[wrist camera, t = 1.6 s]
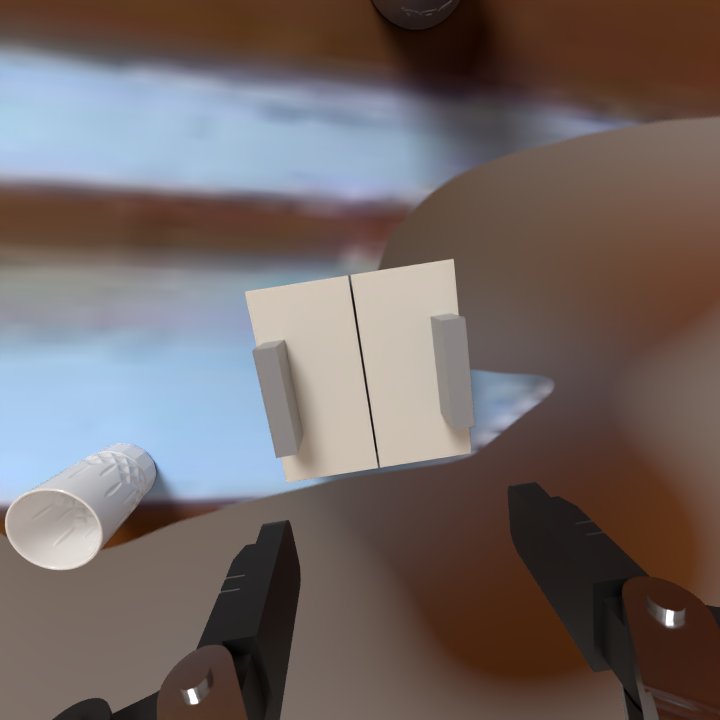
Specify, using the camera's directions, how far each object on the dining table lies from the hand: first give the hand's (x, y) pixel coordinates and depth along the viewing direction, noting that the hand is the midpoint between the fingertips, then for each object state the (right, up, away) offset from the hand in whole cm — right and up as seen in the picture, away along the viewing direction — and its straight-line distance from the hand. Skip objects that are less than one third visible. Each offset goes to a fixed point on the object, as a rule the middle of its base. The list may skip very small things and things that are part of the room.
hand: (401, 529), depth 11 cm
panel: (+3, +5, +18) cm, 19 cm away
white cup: (-28, -7, +29) cm, 41 cm away
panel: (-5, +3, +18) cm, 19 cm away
